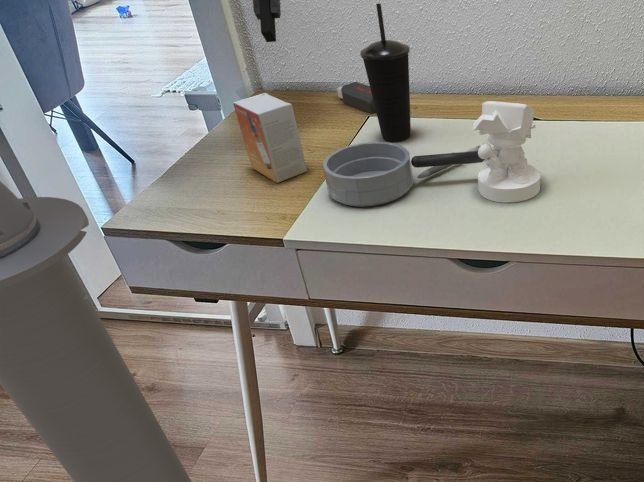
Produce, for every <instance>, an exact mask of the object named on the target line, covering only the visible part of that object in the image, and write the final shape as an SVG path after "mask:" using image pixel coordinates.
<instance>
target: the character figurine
mask: <svg viewBox="0 0 644 482" xmlns="http://www.w3.org/2000/svg"><path fill="white" fill-rule="evenodd" d="M534 116H535V110H534V108H531V107H530V106H528V105H527V104H526V103H520V102H519V103H518V102H508V101H506V102H504V101H495V100H486V101H484V102H482V104H481V115H480V116H479V117H478V118H477V120H476V121H475V122H474V124H472V130H473V131H474V132H475V131H478V135H479V136H483V135H489V136H488V138H487V141H488V142H484V143H482V144H480V145H481V146H480V145H479V146H480V147H479V149H478V155H479V157H480V158H481V159H485V160H484V161H483V163H484V164H485V165H486V167H483V168H482V169H481V170H480V171H479V172H478V174H477V191H478V193H479V194H480V196H481V197H482V198H484V199H486V200H489V201H492V202H496V203H507V204H508V203H509V204H510V203H511V204H512V203H519V202H525V201H529V200H530V199H533V198H534V197H535V196H537V195H538V194H539V193H540V191H541V171H539V169H538V168H536V166H533V165H531V164H528V158H526V156H525V154H526V153H525V150H524V149H523V147H522V146H523V145H524V144H525V143H526V141H527V139H532V130H533V129H536V125H537V124H535V123H534ZM491 145H492V146H491Z"/></svg>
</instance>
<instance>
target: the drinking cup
mask: <svg viewBox="0 0 644 482" xmlns="http://www.w3.org/2000/svg"><path fill="white" fill-rule="evenodd" d="M375 4H376V5H375V6H376V13H377V20H378V27H379V33H380V39H381V40H378V41H375V42H371V44H369V45H368V46H366V47H364V48H363V49H361V50H360V52H359V55H360V58H362V61H363V64H364V68H365V73H366V76H367V80H368V81H367V82H368V86H370V89H371V93H372V97H373V101H374V105H375V109H376V112H375V113H376V118H377V121H378V124H379V125H378V126H379V129H380V133H381V138H382V140H384V142H389V143H396V142H397V143H399V142H403V141H406V140H408V139H409V138H411V136H412V130H411V129H412V126H411V125H412V124H411V97H410V96H411V94H410V70H409V69H410V66H409V65H410V63H409V62H410V61H409V54H410V51H411V49H410V45H407V44H405V43H402V42H400V41H397V40H392V39H386V31H385V25H384V17H383V10H382V4H381V3H379V2H378V3H375Z"/></svg>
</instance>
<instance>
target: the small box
mask: <svg viewBox="0 0 644 482" xmlns="http://www.w3.org/2000/svg"><path fill="white" fill-rule="evenodd" d="M232 105H233V107H234V111H235V115H236V118H237V121H238V125H239V128H240V132H241V135H242V139H243V142H244V145H245V150H246V152H247V155H248V159H249V162H250V166H251V168H252V170H255V171H256V172H258V173H259V174H262V175H263V176H265V177H266V178H268V179H269V180H271V181H273V182H274V183H275V184H278V183H281V182H284V181H285V180H288V179H291V178H294V177H296V176H300V175H301V174H304V173H306V172H308V169H307V164H306V159H305V155H304V151H303V146H302V143H301V138H300V133H299V130H298V129H299V128H298V126H297V120H296V116H295V112H294V107H293V105H292V103H291V102H287V101H284V100H282V99H280V98H277V97H275V96H273V95H270V94H269V93H267V92H262V93H260V94H256V95H253V96H250V97H247V98H242V99H239V100H236V101H233V102H232Z"/></svg>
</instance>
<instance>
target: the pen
mask: <svg viewBox="0 0 644 482" xmlns="http://www.w3.org/2000/svg"><path fill="white" fill-rule="evenodd" d="M481 145H482V144H480V145H478V146H475V147H473V148H470V149H469V150H467V151H465V152H471V151H478V149H479V147H480V146H481ZM452 166H453V165H444V166H432V167H428V168H427V169H425V170H423V171H422V172H420V173H419V174H418V175H417V177H416V179H419V180H421V179H425V178H428V177H431V176H433V175H435V174H438V173H440V172H441V171H443V170H445V169H447V168H450V167H452Z"/></svg>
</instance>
